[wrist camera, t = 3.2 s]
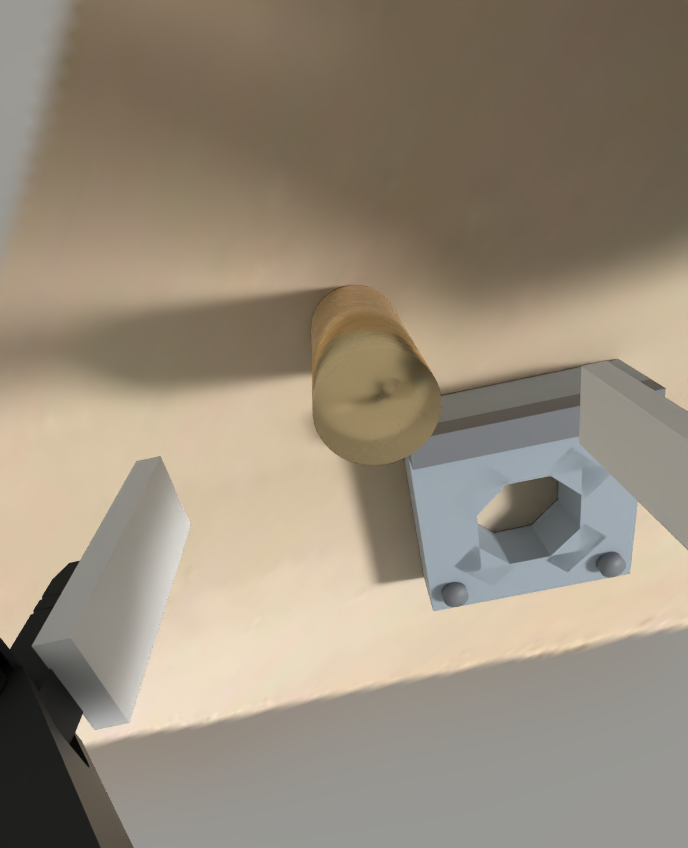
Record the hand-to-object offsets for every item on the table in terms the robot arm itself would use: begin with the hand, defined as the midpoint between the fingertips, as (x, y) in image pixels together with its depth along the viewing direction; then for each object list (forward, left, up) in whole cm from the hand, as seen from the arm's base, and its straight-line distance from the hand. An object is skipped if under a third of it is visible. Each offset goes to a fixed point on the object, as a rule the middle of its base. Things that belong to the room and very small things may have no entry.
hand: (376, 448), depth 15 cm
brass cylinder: (0, 0, -12) cm, 12 cm away
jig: (+12, +8, -12) cm, 19 cm away
